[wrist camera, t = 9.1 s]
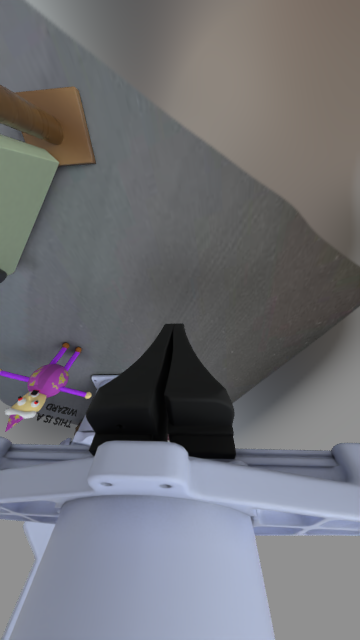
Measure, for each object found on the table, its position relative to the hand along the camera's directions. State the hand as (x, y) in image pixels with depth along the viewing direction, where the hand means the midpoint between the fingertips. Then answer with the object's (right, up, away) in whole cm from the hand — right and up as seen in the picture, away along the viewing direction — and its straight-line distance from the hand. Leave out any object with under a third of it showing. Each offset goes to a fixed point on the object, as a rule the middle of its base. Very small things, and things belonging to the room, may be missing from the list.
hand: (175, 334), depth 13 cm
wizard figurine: (-16, -3, +15) cm, 22 cm away
